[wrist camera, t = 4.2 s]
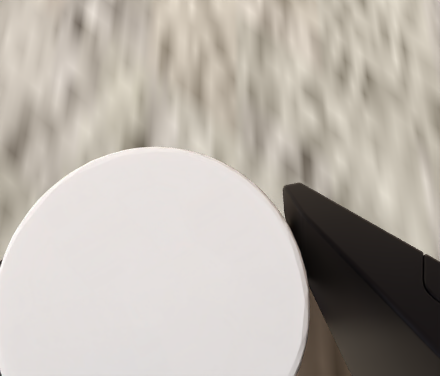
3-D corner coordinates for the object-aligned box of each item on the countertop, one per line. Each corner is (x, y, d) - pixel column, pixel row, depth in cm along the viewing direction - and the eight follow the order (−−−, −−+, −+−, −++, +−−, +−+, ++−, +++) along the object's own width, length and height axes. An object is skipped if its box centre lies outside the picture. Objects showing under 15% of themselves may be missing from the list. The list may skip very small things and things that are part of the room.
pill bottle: (281, 215, 15) (380, 153, 5) (255, 353, 14) (316, 591, 4) (152, 187, 15) (18, 81, 6) (118, 321, 14) (-112, 474, 5)
